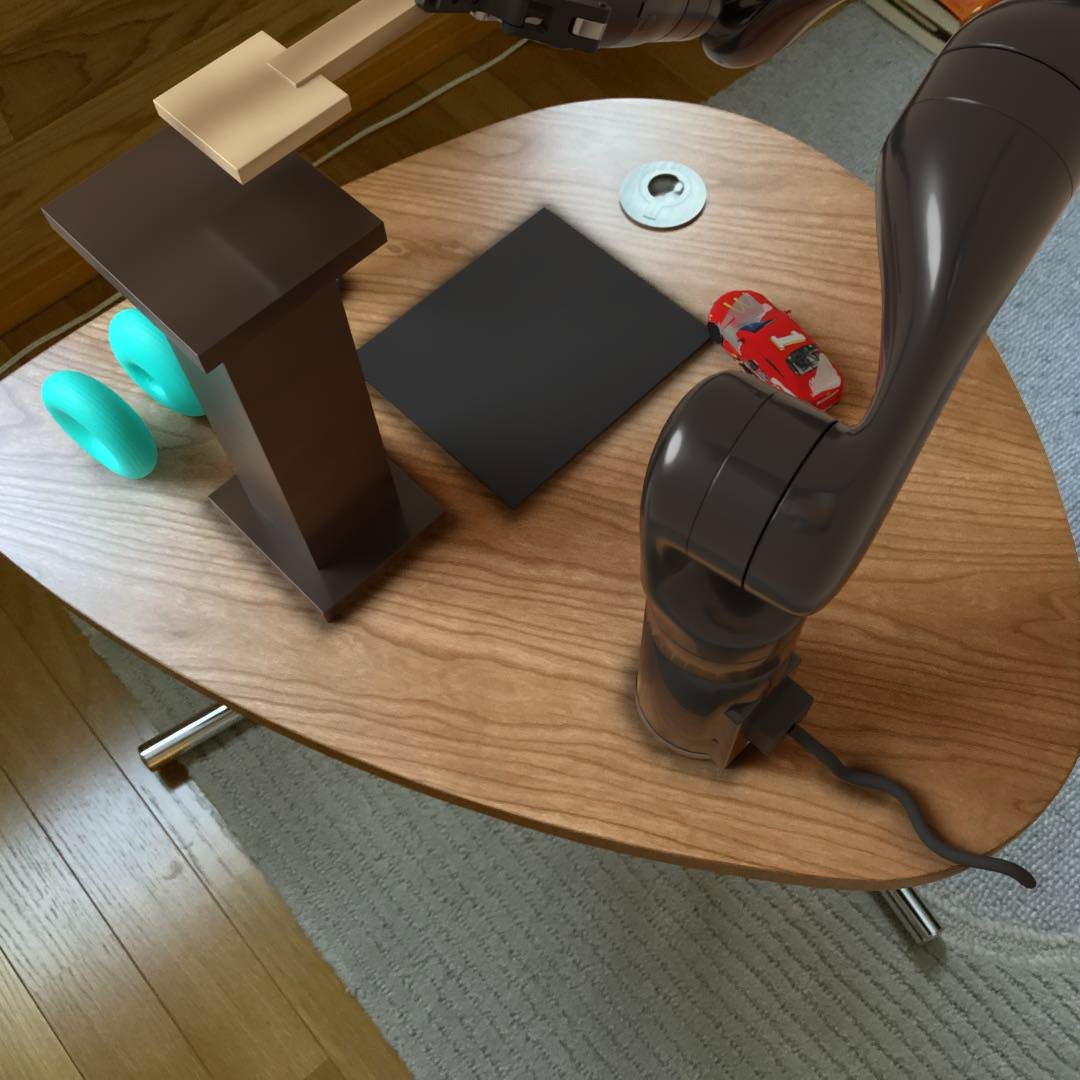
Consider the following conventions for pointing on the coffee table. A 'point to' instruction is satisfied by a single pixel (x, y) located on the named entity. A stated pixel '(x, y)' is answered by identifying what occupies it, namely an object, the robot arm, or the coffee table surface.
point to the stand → (262, 349)
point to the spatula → (280, 87)
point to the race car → (774, 348)
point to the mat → (530, 355)
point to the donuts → (104, 414)
